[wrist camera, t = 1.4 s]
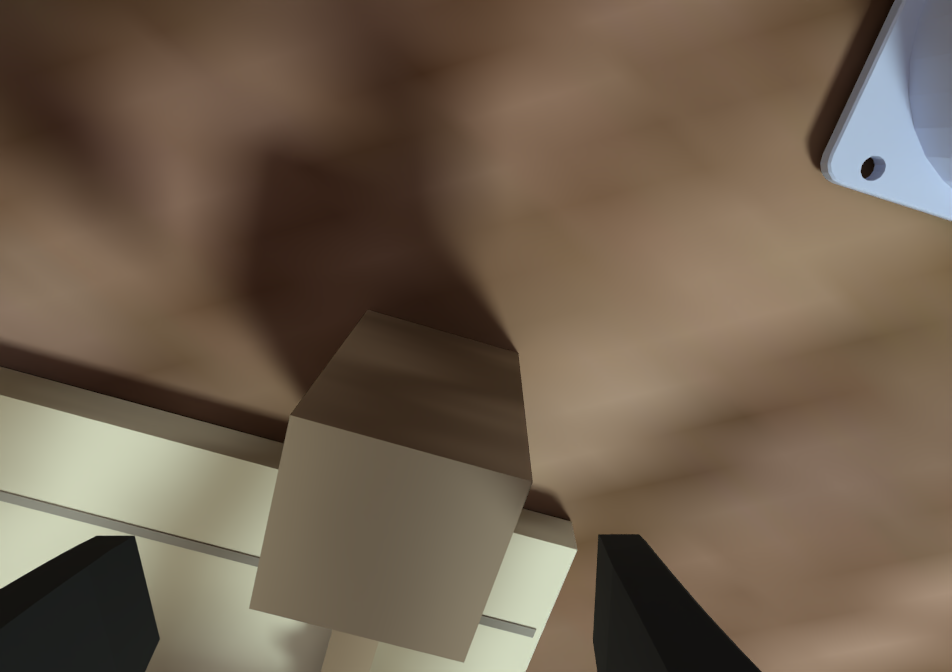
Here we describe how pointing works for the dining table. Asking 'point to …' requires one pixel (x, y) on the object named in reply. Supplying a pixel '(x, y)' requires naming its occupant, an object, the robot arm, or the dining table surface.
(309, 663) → the board
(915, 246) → the dining table surface
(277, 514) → the brown block with handle
